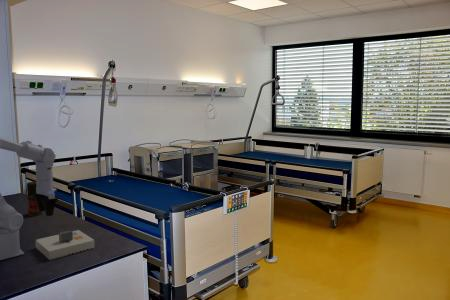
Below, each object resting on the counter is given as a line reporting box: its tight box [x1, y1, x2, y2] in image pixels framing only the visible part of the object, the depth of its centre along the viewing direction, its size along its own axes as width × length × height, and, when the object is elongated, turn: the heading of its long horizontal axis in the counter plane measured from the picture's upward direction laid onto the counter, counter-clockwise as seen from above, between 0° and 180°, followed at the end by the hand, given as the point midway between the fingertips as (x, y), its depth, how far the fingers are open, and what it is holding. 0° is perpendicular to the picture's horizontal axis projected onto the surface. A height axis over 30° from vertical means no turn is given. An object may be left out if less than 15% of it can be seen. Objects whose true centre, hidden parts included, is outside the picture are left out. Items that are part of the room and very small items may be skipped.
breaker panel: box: [35, 229, 95, 261], centre depth 138 cm, size 16×14×3 cm
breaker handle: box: [58, 229, 73, 242], centre depth 137 cm, size 4×2×3 cm, turn 134°
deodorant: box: [26, 181, 43, 217], centre depth 176 cm, size 6×6×15 cm
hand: (46, 213), depth 145 cm, fingers open, 7 cm apart
